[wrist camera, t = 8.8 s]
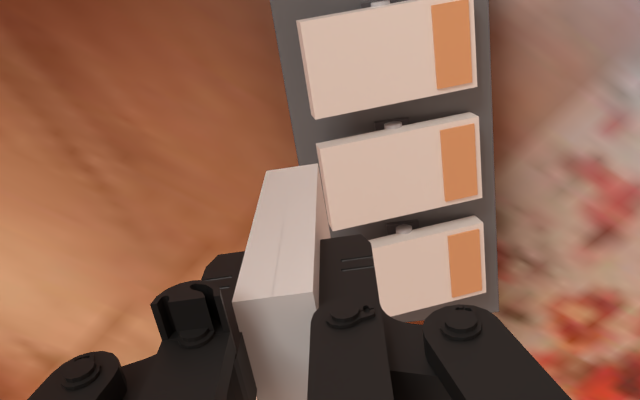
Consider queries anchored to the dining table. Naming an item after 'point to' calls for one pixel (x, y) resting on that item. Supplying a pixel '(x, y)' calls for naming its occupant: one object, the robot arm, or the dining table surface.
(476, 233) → the rocker
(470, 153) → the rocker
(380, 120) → the power strip
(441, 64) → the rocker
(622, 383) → the dining table surface
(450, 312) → the robot arm
